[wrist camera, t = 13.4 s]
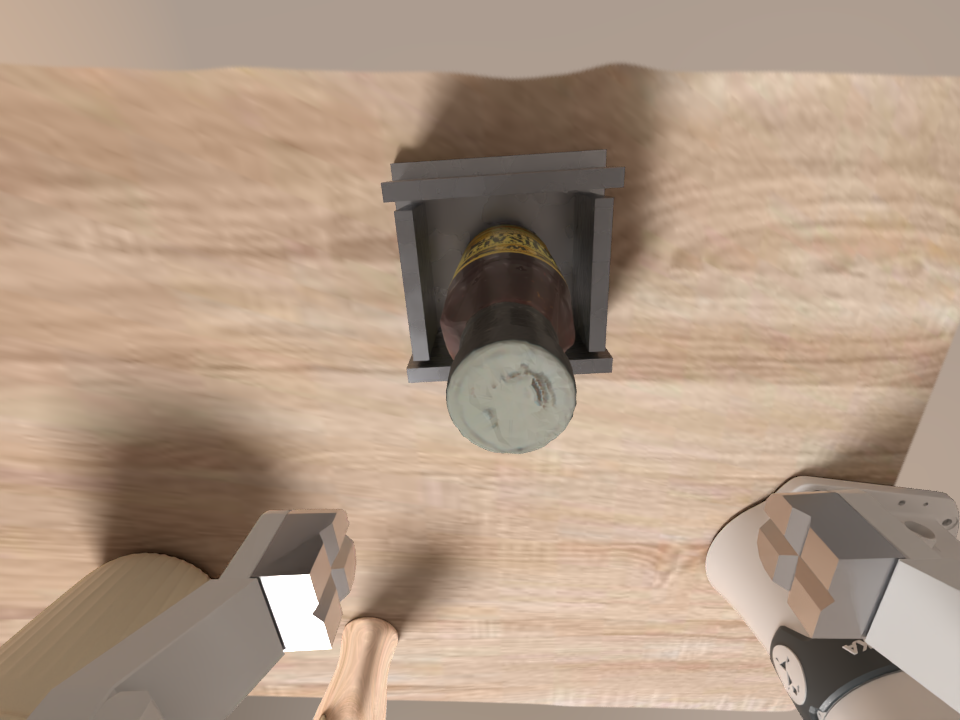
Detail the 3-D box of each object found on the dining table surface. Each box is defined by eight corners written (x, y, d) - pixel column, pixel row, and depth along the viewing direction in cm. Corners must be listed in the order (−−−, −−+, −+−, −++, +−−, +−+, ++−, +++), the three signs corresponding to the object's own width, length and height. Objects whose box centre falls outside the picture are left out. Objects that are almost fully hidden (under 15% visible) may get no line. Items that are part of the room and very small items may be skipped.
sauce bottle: (556, 227, 30) (664, 318, 12) (539, 314, 33) (609, 496, 15) (461, 214, 30) (428, 287, 12) (451, 302, 33) (412, 474, 14)
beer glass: (361, 604, 47) (310, 785, 33) (415, 632, 49) (388, 815, 35) (327, 638, 49) (266, 821, 35) (379, 663, 51) (341, 848, 37)
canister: (230, 520, 42) (18, 815, 23) (274, 645, 50) (142, 950, 30) (46, 526, 43) (-312, 821, 24) (116, 649, 50) (-114, 952, 31)
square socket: (602, 149, 29) (636, 145, 23) (593, 345, 35) (618, 386, 29) (393, 163, 30) (368, 163, 23) (417, 355, 35) (402, 396, 29)
